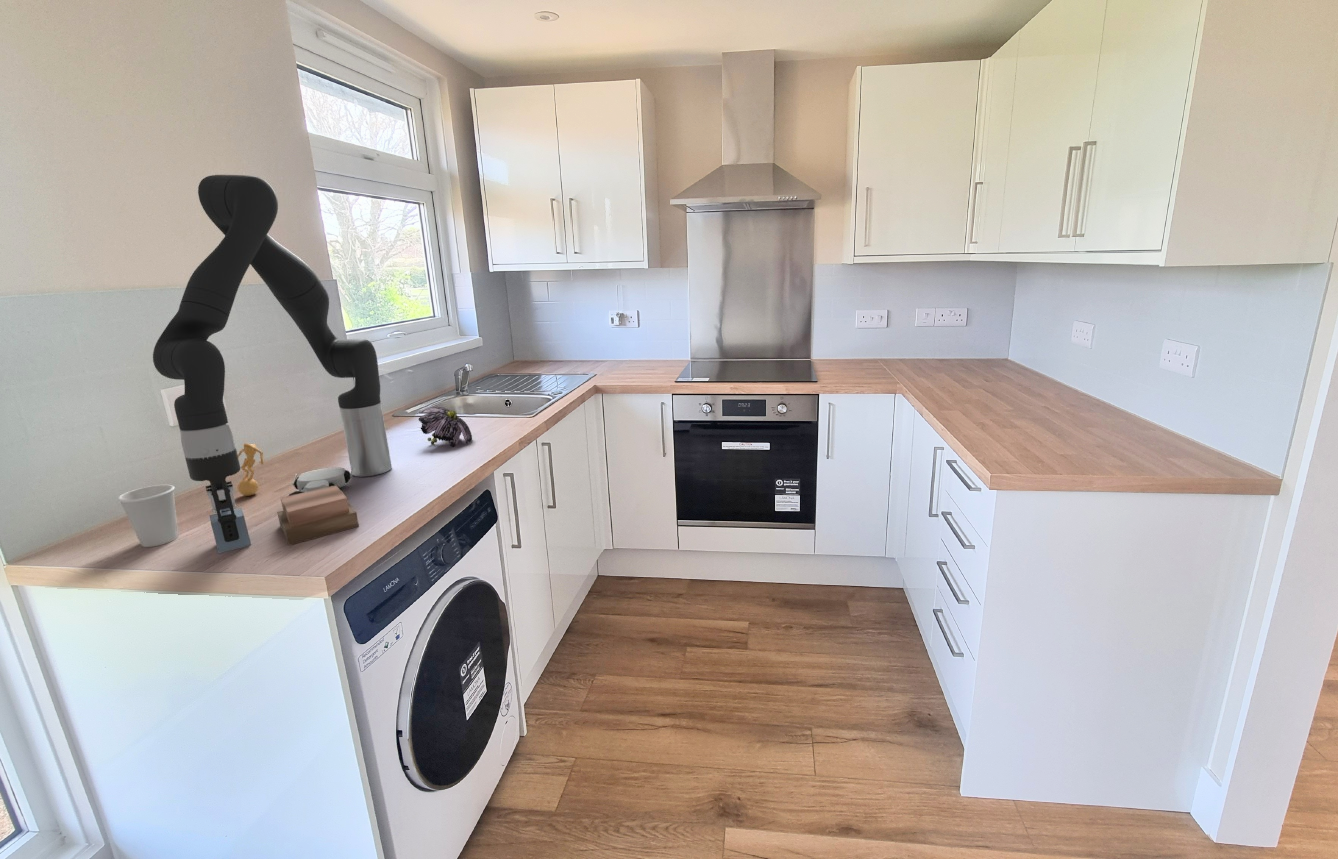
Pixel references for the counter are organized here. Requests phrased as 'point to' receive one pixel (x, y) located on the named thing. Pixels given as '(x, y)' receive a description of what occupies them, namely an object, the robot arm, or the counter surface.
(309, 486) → the robot toy
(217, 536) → the slate brick
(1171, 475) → the counter surface
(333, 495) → the wooden stepped block
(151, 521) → the dixie cup
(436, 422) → the decorative flower
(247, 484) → the figurine
